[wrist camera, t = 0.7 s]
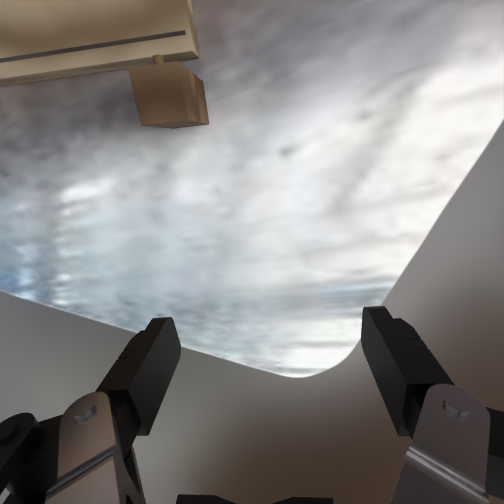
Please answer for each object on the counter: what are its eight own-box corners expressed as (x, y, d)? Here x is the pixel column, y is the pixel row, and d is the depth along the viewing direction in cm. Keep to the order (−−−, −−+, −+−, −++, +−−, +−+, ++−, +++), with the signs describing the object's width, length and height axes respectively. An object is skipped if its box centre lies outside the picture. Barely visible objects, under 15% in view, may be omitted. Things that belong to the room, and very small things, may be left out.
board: (-25, 16, 26) (-55, 4, 24) (188, -21, 24) (178, -38, 22) (2, 86, 29) (-22, 81, 26) (199, 58, 27) (192, 50, 24)
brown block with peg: (163, 76, 27) (124, 54, 20) (201, 71, 27) (175, 46, 20) (173, 128, 29) (141, 125, 22) (209, 124, 29) (188, 119, 22)
